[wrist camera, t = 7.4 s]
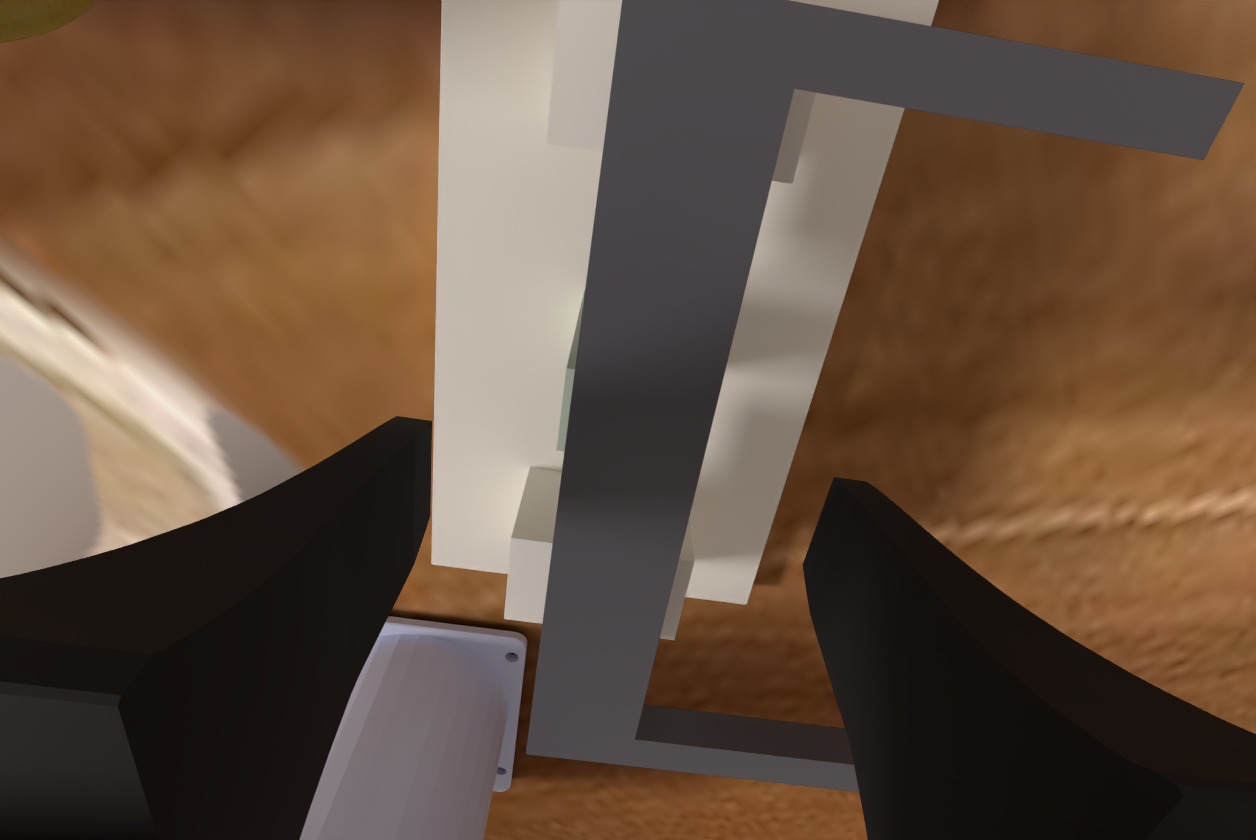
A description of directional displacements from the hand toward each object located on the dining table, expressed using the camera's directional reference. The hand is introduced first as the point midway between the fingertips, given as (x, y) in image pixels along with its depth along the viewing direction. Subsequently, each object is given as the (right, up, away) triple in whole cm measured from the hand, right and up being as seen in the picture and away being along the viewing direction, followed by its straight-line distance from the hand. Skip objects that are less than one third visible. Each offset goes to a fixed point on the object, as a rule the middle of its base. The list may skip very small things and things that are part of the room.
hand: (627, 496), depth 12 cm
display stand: (0, +4, +8) cm, 9 cm away
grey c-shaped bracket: (+3, +2, +4) cm, 5 cm away
